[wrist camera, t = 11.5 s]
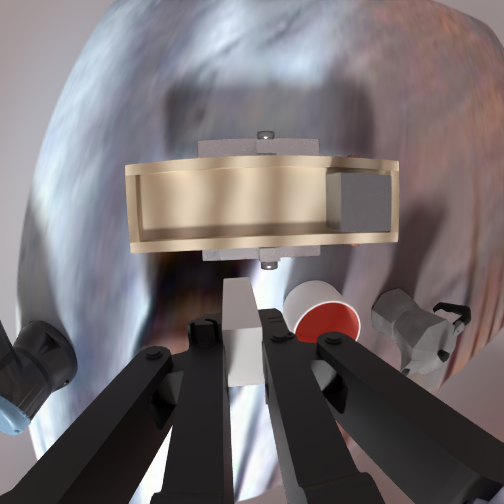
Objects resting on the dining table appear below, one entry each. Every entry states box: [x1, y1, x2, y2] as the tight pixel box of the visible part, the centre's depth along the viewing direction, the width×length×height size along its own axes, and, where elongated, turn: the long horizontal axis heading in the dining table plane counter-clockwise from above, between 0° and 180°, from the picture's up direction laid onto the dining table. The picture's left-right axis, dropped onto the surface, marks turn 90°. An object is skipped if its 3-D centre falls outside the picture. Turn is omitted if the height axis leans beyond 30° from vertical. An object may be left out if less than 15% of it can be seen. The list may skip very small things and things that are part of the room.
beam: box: [125, 155, 399, 253], centre depth 33 cm, size 32×11×4 cm, turn 92°
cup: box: [283, 280, 361, 343], centre depth 43 cm, size 10×10×10 cm
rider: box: [326, 173, 392, 232], centre depth 31 cm, size 6×6×5 cm
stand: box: [198, 131, 320, 270], centre depth 38 cm, size 18×18×11 cm
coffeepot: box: [372, 288, 471, 376], centre depth 40 cm, size 15×9×18 cm, turn 125°
